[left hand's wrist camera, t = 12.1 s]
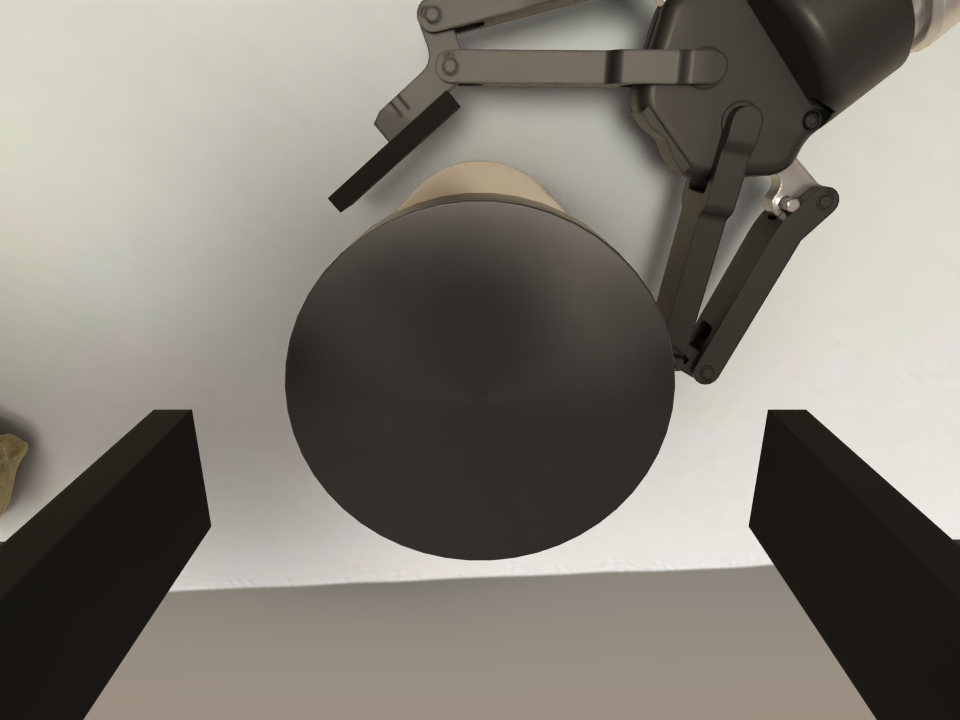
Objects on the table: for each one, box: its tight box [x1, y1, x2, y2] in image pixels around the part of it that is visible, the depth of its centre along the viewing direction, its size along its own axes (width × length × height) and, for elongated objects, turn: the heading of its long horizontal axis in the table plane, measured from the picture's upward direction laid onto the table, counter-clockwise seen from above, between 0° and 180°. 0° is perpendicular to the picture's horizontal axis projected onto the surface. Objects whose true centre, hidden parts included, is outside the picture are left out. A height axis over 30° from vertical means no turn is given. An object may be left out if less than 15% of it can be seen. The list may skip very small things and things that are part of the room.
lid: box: [285, 193, 675, 560], centre depth 18 cm, size 10×10×2 cm
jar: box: [394, 161, 566, 213], centre depth 26 cm, size 10×10×19 cm
